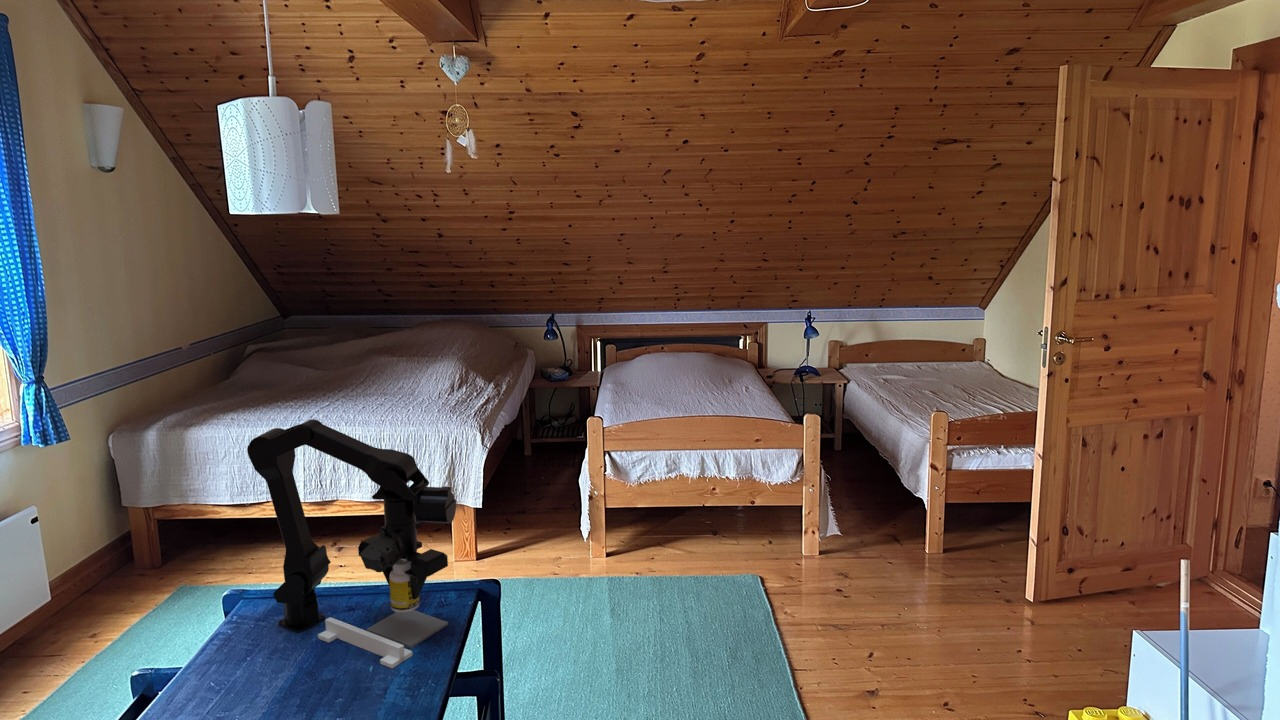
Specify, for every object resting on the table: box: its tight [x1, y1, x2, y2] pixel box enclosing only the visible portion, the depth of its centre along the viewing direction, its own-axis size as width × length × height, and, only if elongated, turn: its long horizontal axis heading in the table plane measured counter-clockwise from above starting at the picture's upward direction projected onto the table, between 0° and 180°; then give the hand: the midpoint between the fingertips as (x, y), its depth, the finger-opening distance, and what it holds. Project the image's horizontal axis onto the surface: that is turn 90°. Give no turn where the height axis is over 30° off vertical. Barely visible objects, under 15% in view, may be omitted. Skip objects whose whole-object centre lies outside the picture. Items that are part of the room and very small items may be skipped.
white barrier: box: [317, 617, 413, 669], centre depth 154 cm, size 20×5×3 cm, turn 60°
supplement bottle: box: [389, 559, 420, 613], centre depth 159 cm, size 5×5×10 cm
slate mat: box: [365, 609, 449, 649], centre depth 161 cm, size 12×10×1 cm
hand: (404, 594), depth 160 cm, fingers closed on supplement bottle, 5 cm apart
